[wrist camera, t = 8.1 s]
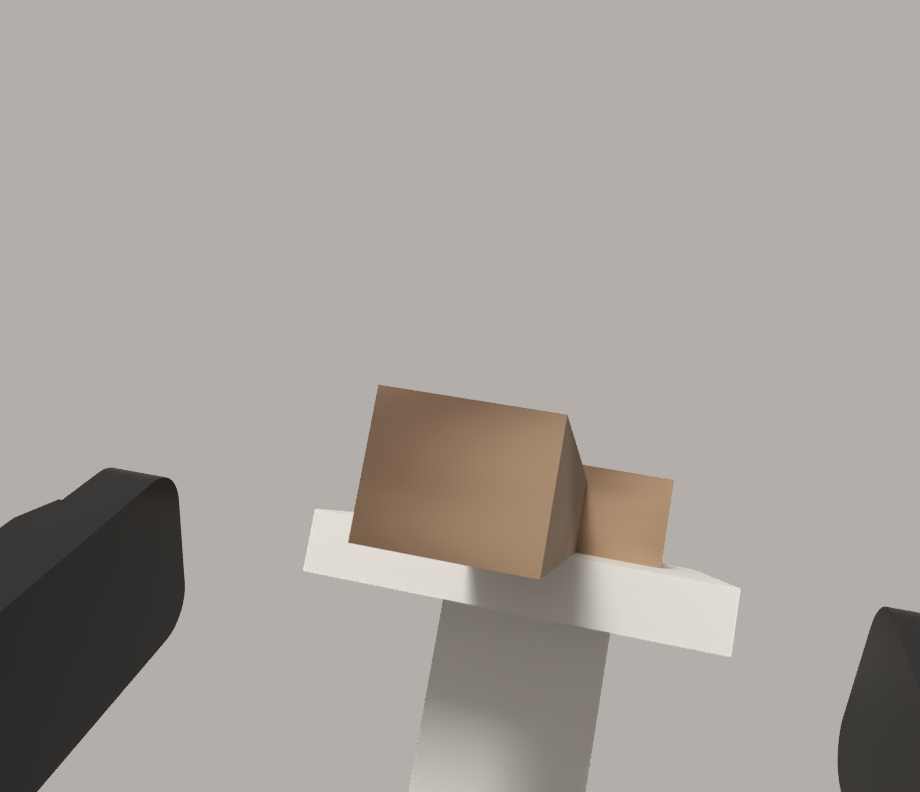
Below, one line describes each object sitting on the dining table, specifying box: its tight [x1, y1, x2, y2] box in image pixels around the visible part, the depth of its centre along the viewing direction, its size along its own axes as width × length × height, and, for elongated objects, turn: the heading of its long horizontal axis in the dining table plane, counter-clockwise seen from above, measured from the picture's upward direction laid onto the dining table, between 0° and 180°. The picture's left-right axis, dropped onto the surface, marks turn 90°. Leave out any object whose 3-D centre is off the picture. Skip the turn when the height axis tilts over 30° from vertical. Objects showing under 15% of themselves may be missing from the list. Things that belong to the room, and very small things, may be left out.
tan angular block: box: [348, 385, 674, 580], centre depth 21 cm, size 7×20×2 cm, turn 171°
